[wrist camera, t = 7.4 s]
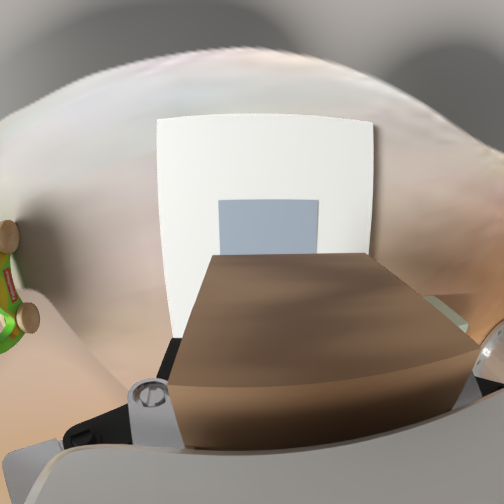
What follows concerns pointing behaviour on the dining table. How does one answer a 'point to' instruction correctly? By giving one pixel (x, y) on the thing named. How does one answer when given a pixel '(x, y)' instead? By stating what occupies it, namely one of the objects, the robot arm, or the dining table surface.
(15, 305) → the toy lion
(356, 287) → the walnut block
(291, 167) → the board
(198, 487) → the robot arm
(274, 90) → the dining table surface
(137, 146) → the dining table surface
